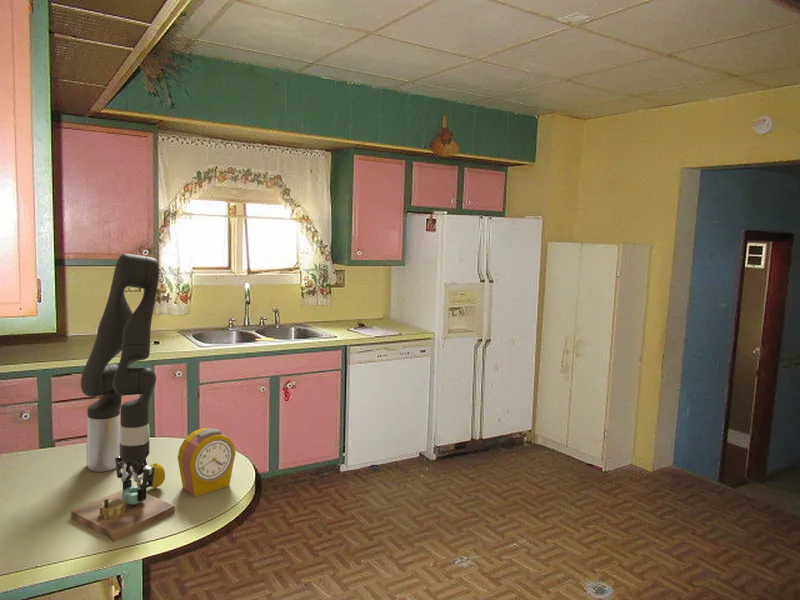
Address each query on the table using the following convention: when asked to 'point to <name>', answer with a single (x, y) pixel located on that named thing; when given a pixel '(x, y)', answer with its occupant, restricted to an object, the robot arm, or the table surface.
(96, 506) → the gear board
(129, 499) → the teal gear
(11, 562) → the table surface
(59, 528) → the table surface
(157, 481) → the lemon
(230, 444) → the alarm clock
